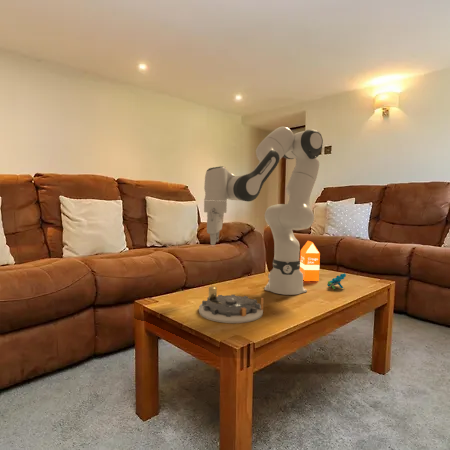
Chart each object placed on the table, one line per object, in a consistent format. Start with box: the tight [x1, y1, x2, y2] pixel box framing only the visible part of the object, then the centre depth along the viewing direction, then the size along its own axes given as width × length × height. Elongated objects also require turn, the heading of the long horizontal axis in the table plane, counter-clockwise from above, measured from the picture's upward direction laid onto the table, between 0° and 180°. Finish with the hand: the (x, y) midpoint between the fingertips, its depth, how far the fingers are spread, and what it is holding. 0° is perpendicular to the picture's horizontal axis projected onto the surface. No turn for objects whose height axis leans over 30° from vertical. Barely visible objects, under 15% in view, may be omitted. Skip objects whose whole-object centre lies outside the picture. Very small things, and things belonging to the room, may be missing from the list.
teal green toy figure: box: [326, 272, 347, 290], centre depth 155 cm, size 11×6×10 cm
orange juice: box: [299, 240, 321, 282], centre depth 172 cm, size 8×9×20 cm
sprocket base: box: [198, 297, 265, 324], centre depth 119 cm, size 23×23×6 cm
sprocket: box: [201, 286, 261, 317], centre depth 119 cm, size 21×21×6 cm
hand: (214, 243), depth 131 cm, fingers open, 8 cm apart
